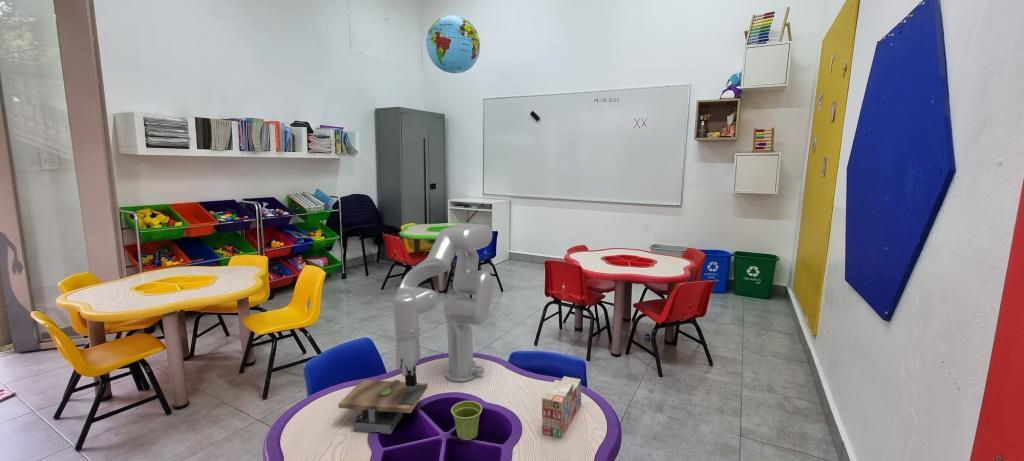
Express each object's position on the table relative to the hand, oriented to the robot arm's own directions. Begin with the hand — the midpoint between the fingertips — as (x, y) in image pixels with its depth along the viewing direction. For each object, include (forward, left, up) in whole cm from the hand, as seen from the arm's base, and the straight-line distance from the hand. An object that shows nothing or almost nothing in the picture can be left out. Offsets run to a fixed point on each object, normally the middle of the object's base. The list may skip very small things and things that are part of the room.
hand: (411, 384), depth 147 cm
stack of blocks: (-49, -4, -11) cm, 51 cm away
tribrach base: (+9, +1, -11) cm, 14 cm away
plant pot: (-21, +9, -11) cm, 25 cm away
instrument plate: (+9, +1, -5) cm, 10 cm away
